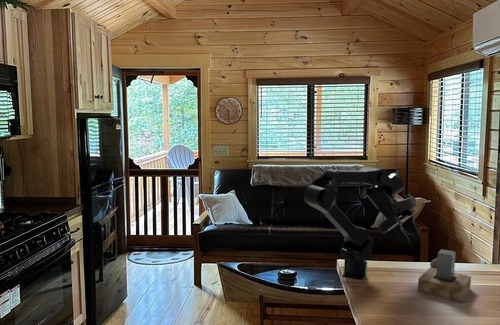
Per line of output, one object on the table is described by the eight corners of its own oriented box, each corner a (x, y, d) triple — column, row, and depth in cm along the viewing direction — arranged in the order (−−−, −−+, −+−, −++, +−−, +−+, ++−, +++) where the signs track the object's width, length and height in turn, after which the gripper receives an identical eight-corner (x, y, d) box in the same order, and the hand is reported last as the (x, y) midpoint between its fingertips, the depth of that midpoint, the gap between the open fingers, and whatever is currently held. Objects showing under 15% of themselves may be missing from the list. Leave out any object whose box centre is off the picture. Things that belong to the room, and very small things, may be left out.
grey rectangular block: (435, 290, 133) (437, 252, 131) (438, 286, 136) (441, 249, 134) (449, 294, 130) (452, 255, 129) (452, 289, 134) (455, 251, 132)
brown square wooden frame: (417, 291, 132) (418, 278, 132) (429, 279, 142) (430, 267, 141) (460, 302, 125) (461, 289, 124) (470, 289, 134) (471, 276, 134)
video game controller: (447, 282, 143) (459, 264, 142) (434, 275, 144) (446, 257, 142) (440, 271, 153) (451, 254, 152) (428, 264, 153) (439, 247, 152)
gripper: (390, 191, 134) (425, 233, 129) (410, 183, 148) (443, 220, 143) (364, 212, 140) (397, 253, 134) (386, 202, 154) (416, 239, 149)
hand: (414, 241), depth 140 cm, fingers open, 9 cm apart
